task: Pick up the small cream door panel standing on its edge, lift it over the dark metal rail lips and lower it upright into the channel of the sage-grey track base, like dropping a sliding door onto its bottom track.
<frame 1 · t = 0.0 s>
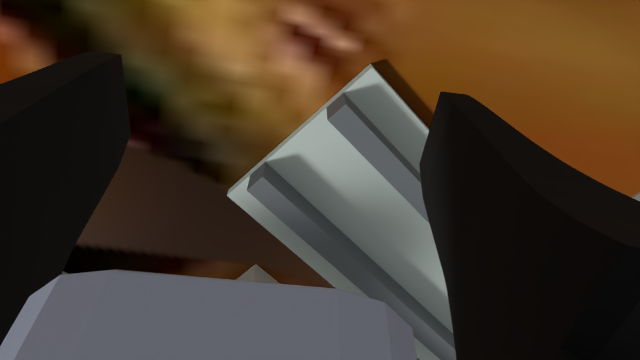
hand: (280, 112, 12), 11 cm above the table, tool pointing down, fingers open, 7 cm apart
track: (404, 236, 26), on the table
door panel: (304, 326, 29), on the table
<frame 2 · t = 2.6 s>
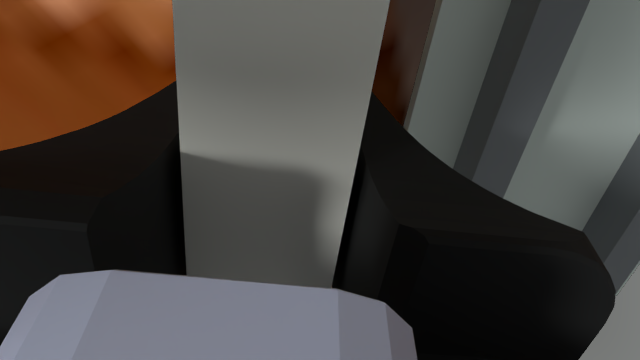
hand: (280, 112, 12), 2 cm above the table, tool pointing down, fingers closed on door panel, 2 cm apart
track: (587, 68, 14), on the table
door panel: (286, 67, 14), on the table, touching gripper
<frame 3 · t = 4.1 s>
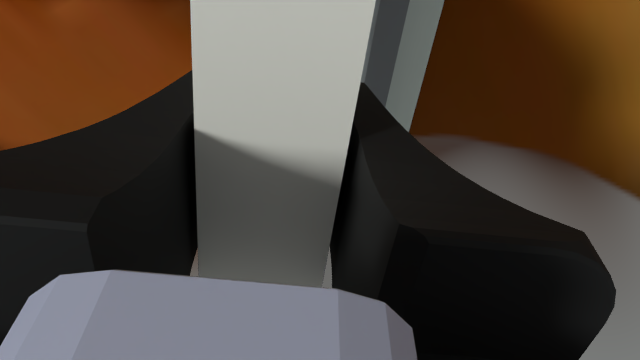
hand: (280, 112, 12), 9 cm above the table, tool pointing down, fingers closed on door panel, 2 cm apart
door panel: (288, 49, 14), point 6 cm above the table, touching gripper
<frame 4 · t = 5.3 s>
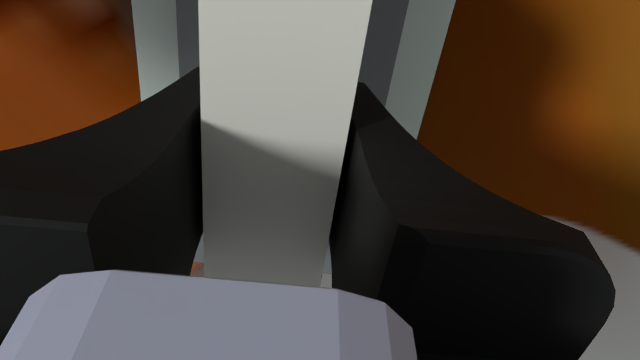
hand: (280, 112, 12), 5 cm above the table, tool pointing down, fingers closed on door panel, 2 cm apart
track: (290, 36, 15), on the table
door panel: (289, 43, 15), point 1 cm above the table, touching gripper
when the fingers open (4 cm above the table, at t = 5.9 s): door panel stays where it is, resting on track.
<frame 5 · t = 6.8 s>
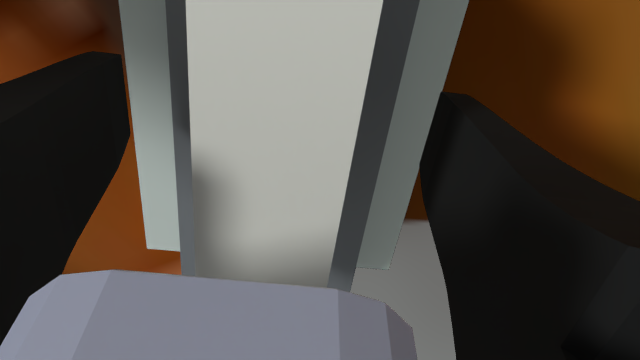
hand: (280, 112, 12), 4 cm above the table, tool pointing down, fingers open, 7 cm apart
track: (289, 50, 15), on the table
door panel: (288, 55, 14), point 1 cm above the table, touching track
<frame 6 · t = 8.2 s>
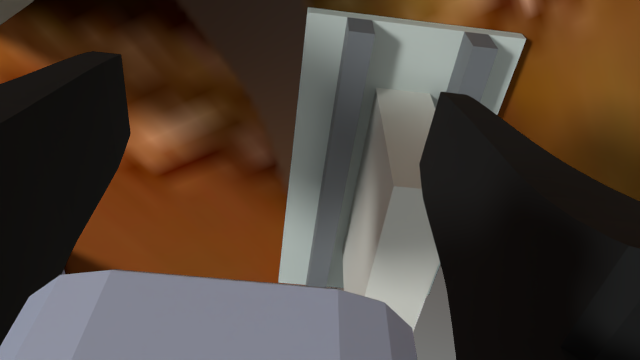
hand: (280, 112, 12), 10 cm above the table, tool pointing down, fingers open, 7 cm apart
track: (379, 175, 26), on the table
door panel: (380, 180, 25), point 1 cm above the table, touching track
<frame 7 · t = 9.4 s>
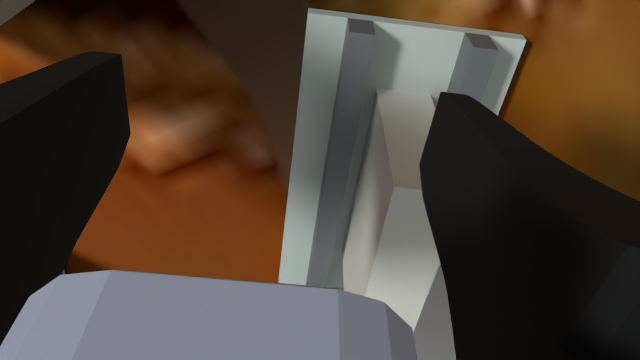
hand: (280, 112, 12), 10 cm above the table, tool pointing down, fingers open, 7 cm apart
track: (379, 175, 26), on the table
door panel: (381, 181, 25), point 1 cm above the table, touching track
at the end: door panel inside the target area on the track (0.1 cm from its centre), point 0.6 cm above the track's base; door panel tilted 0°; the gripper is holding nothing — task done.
